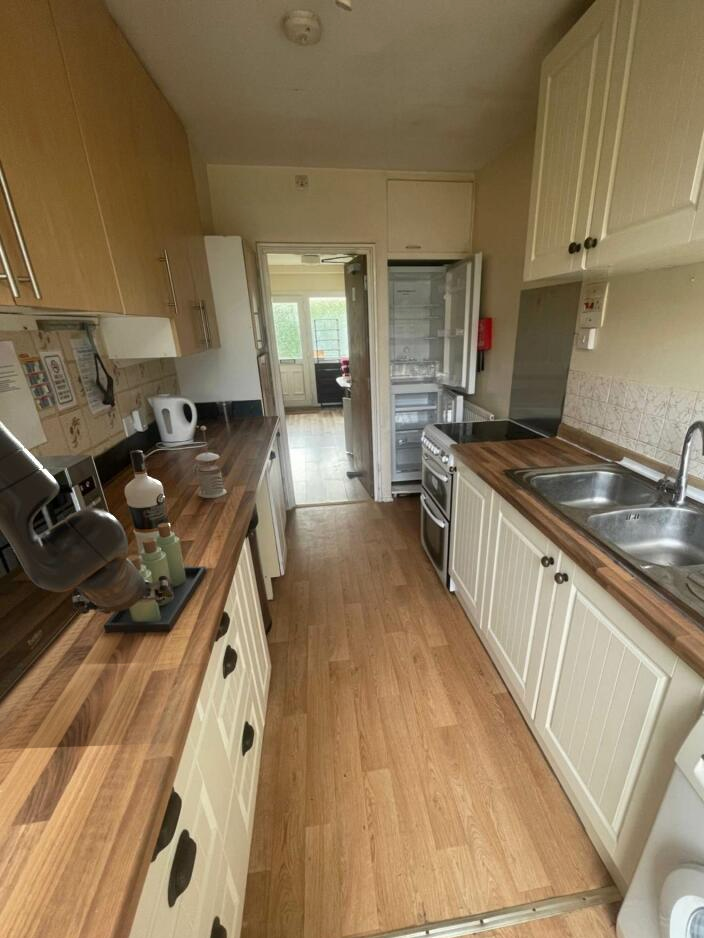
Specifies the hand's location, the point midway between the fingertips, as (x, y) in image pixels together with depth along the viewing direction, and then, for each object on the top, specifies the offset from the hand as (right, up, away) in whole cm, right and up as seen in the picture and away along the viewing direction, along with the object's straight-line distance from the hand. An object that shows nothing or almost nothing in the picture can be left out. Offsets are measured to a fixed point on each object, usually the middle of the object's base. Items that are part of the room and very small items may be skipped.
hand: (134, 603), depth 79 cm
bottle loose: (-3, -6, +10) cm, 12 cm away
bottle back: (-4, 0, +24) cm, 24 cm away
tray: (-4, -3, +17) cm, 18 cm away
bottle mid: (-4, -3, +17) cm, 17 cm away
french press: (-18, +24, +79) cm, 84 cm away
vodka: (-13, +4, +33) cm, 36 cm away
